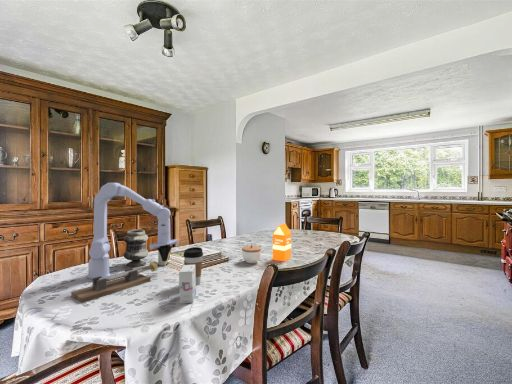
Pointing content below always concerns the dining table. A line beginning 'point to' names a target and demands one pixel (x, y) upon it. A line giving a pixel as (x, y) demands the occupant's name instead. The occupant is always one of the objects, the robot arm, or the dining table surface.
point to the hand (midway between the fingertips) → (164, 260)
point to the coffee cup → (194, 260)
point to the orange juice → (282, 243)
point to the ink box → (187, 284)
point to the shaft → (152, 267)
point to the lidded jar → (251, 253)
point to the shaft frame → (109, 286)
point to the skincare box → (161, 259)
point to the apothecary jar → (135, 247)
